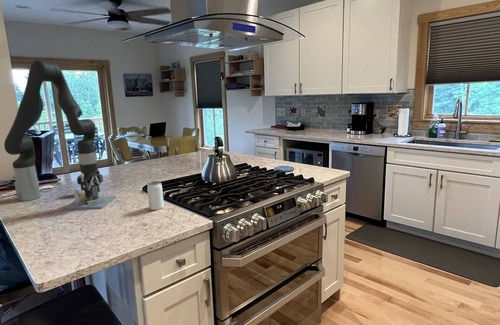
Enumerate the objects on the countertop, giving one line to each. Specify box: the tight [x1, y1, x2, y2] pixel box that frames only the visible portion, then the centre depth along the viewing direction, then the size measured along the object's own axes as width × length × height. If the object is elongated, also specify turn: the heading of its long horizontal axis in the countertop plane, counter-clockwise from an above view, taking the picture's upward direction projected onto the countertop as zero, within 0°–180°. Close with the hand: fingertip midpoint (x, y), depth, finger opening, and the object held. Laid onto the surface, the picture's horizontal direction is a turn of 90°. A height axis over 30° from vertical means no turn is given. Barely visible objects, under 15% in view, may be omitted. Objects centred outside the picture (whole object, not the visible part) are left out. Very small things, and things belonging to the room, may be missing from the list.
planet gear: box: [85, 185, 100, 204], centre depth 152 cm, size 8×8×8 cm
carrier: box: [62, 188, 117, 211], centre depth 153 cm, size 18×16×8 cm
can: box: [146, 180, 165, 211], centre depth 144 cm, size 6×6×12 cm
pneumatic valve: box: [76, 173, 104, 188], centre depth 170 cm, size 6×12×12 cm, turn 102°
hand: (93, 194), depth 152 cm, fingers open, 8 cm apart
